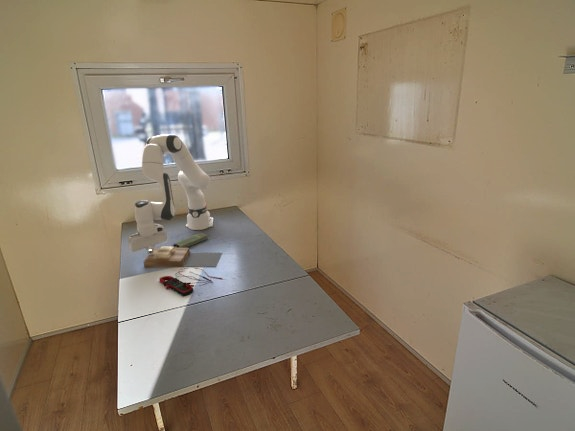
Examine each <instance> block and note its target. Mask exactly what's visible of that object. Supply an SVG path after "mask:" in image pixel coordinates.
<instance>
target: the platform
mask: <svg viewBox="0 0 575 431" xmlns="http://www.w3.org/2000/svg"><path fill="white" fill-rule="evenodd" d="M160 248H161V247H154V250H153V251H154V252H153V253H150V254H148V256H147V257H146V258H145V259H144V260H143V265H144V268H183V267H182V266H183V264H184V263H185V261H186V259H187V258H188V256H189V255H190V253H191V250H190V247H186V248H177V247H174V249H175V250H174V252H173V253H172V255H171V256H170V257H169V259H156V257H155V254H156V253H157V252H158V250H159V249H160Z"/></svg>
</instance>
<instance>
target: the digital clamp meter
mask: <svg viewBox="0 0 575 431" xmlns="http://www.w3.org/2000/svg"><path fill="white" fill-rule="evenodd" d="M187 269H188V267H183V268H181V269H179V270H178V272H176V273H174V276H176V277H174V276H171V275H166V276H165V275H164V276H161V277H159V278H158V281H159V283H160V284H162V285H163V287H165V288H166V290H171V291H173V292H174V293H176V294H178V295H180V296H182V297H183V298H184V297H185V298H186V297H188V296H190V295H192V294H193V293H194V287H195V285H194V284H199V283H201V284H200V285H199V287H201V286H204V285H207V284H210V283H211V284H214V281H212V280H211V279H218V280H226V279H224V278H222V277H218V276H217V277H216V276H211V275H208V274H207V272H206V271H204V269H203V268H200V267H194V269H195V270H202V272H204V273H205V274H206V276H207V277H205V276H202V275H200V274H197V273H194V272H193V271H190V273H192V274H194V275H197V276H199V277H202V278H203V279H199V278H196V277H195V276H192V275H191V276H190V275H184V274H182V272H184V270H187ZM180 275H181V276H180ZM178 277H179V278H182V277H183V278H184V277H185V278H188V279H190V280H194V281H195V280H196V281H197V282H194V284H193V282H183V281H181V280H180V279H178ZM208 277H209V278H211V279H209V278H208ZM204 279H205V280H204ZM165 280H166V281H165ZM202 283H203V284H202Z"/></svg>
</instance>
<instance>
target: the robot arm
mask: <svg viewBox="0 0 575 431" xmlns="http://www.w3.org/2000/svg"><path fill="white" fill-rule="evenodd" d="M168 154H169V155H170V156H171V158H172V160H173V162H174V163H175V166H176V167H177V169H178V170H179V172H178V174H177V181H178V182H179V183H180V185H181V186H182V188H183V189H184V192H185V195H186V198H187V204H188V207H187V211H188V214H187V215H186V222H187V223H186V224H185V228H188V229H189V230H192V231H193V230H194V231H200V230H205V229H208V228H212V227H213V226H214V217H211V213H210V211H208V208H207V207H208V206H207V203H206V200H205V197H206V196H205V194H204V193H203V192H202V190H203V189H207V188H209V187H210V186H211V177H210V175H209V174H208V173H206V172H205V171H204V170H203V169H202V168H201V167H200V166H199V165H198V163H197V162H196V161H195V159H194V158H193V156H192V154H191V152H190V150H189V148H188V147H187V145H186V144H185V142H184V141H183V140H182V139H181V137H180V136H179V135H177V134H174V133H170V134H159V135H153V136H150V137H148V138H147V139H146V140H145V146H144V148H143V152H142V158H141V159H142V161H141V172H142V173H143V176H144V177H146V178H147V179H148V180H151V181H153V182H156V183H157V184H159V186H160V187H161V189H162V197H163V202H162V201H160V202H159V201H158V202H157V201H149V200H147V199H141V200H139V201H136V202H135V203H134V209H133V211H134V219H135V221H136V229H137V232H136V233H133V234H132V233H131V234H130V235H129V236H128V237H127V242H128V247H129V250H130V251H131V252H132V253H133V252H138V251H141V250H145V251H146V252H147V254H148V255H149V254H150V253H153V252H154V251H153V250H154V248H156V245H159V244H161V243H164V242H167V241H168V234H167V232H166V230H165V227H164V225H162V224H159V223H155V222H154V220H163V221H170V220H172V219H173V218H174V217H175V216H176V206H175V204H174V198H173V197H174V196H173V190H172V184H171V179H170V176H169V174H168V173H166V171H165V169H164V155H168ZM149 247H150V249H149Z"/></svg>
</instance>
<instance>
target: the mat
mask: <svg viewBox="0 0 575 431" xmlns="http://www.w3.org/2000/svg"><path fill="white" fill-rule="evenodd" d="M221 256H222V252H190V254H189V256H188V257H187V259H186V260H185V262H184V264H183V265H182V267H181V268H216V267H217V265H218V262H219V261H220V258H221Z"/></svg>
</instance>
